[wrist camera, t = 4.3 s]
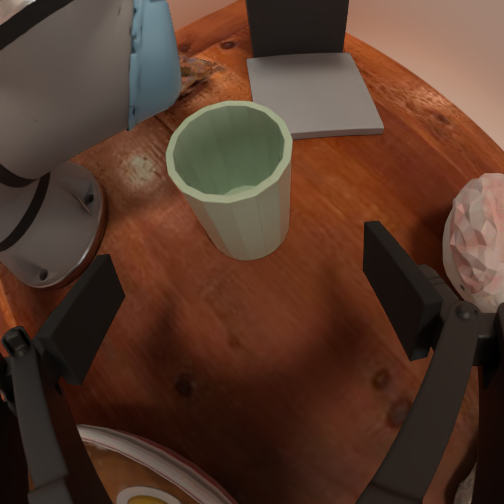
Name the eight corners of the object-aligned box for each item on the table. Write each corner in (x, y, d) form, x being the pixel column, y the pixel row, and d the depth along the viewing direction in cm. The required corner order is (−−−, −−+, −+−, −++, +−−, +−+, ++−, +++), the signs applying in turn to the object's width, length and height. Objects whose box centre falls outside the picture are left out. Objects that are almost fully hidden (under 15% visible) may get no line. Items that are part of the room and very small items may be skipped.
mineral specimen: (187, 47, 37) (189, 24, 30) (213, 87, 39) (219, 68, 32) (111, 88, 36) (100, 70, 29) (136, 131, 38) (127, 118, 31)
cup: (192, 236, 30) (142, 171, 18) (234, 172, 31) (211, 89, 20) (263, 275, 28) (249, 225, 17) (303, 205, 30) (313, 124, 18)
